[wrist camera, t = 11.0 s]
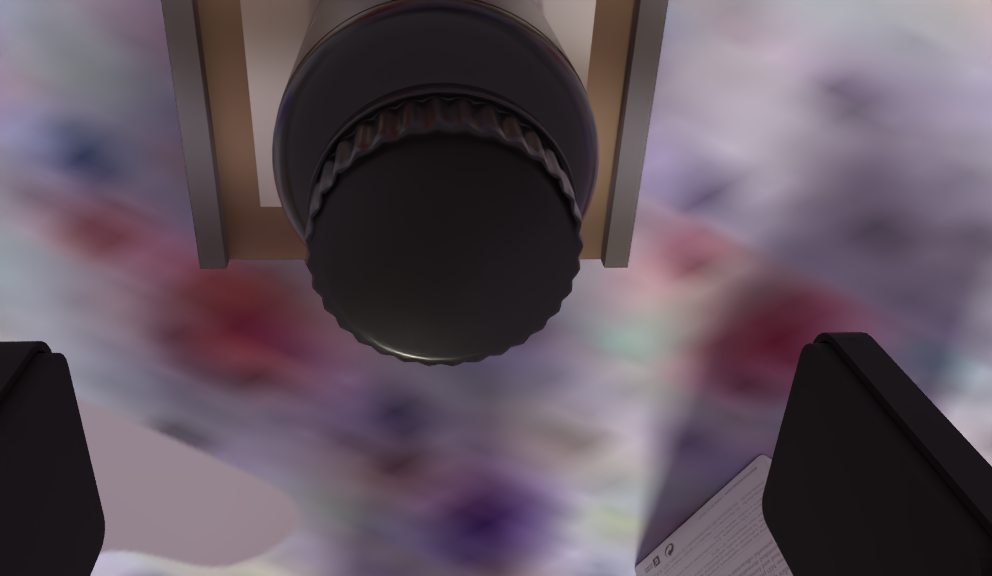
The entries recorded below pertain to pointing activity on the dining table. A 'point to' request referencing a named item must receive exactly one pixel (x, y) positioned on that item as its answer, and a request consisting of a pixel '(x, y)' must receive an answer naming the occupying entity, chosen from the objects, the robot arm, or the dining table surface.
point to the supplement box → (723, 535)
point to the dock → (267, 67)
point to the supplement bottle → (436, 172)
